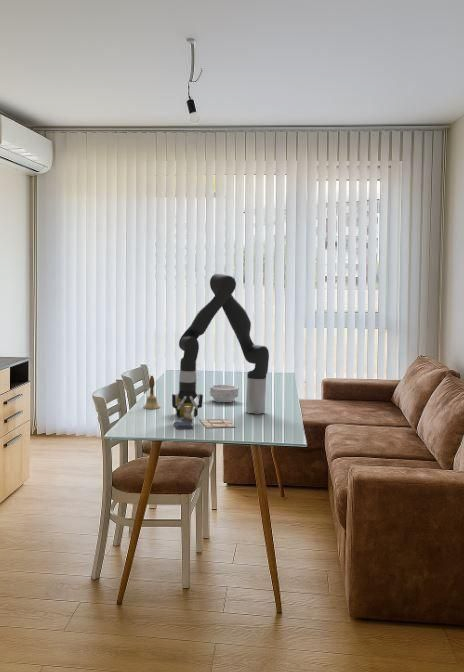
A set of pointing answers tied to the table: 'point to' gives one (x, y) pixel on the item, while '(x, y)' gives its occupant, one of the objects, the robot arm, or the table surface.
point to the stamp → (187, 414)
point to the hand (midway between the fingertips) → (186, 416)
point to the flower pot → (183, 406)
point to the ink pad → (183, 425)
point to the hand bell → (151, 397)
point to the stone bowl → (224, 393)
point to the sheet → (217, 423)
